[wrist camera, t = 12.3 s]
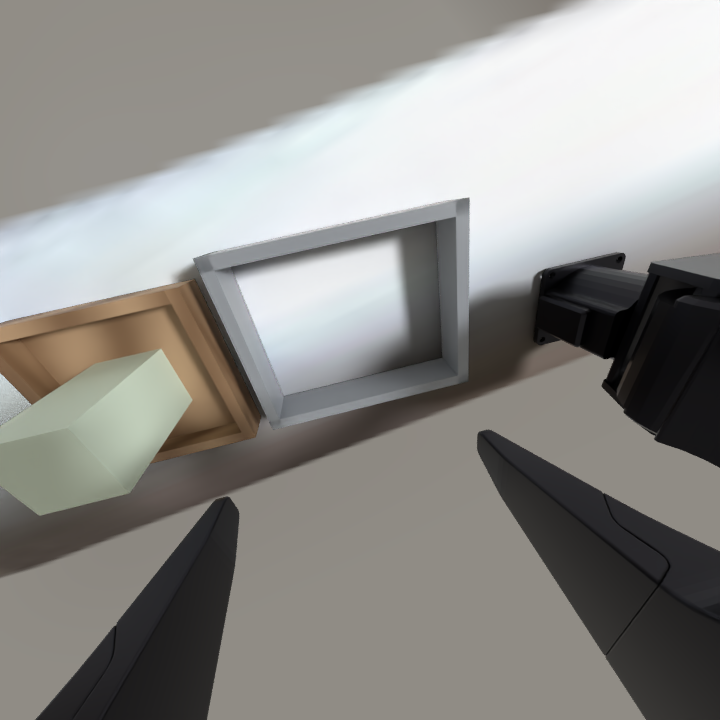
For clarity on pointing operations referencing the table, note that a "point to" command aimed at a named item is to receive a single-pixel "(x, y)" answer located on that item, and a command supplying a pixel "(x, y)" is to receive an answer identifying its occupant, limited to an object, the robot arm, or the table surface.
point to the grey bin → (365, 389)
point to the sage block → (92, 433)
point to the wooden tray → (133, 336)
